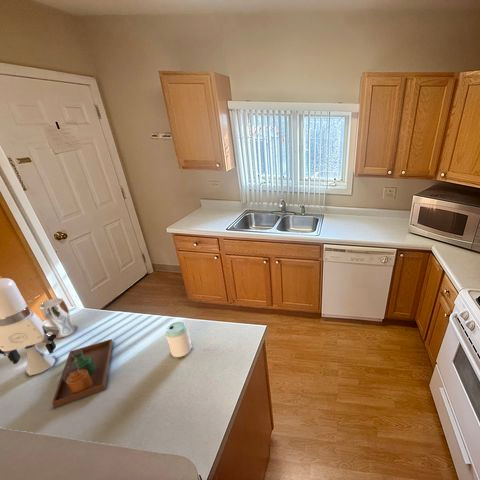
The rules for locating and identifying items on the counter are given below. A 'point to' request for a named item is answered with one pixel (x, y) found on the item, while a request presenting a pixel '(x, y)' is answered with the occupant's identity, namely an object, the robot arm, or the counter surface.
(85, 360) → the green bottle
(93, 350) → the tray
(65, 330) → the beer glass
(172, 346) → the can
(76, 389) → the amber bottle
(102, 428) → the counter surface
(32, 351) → the flask
